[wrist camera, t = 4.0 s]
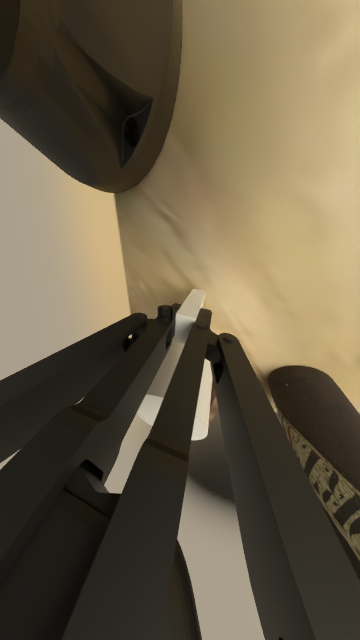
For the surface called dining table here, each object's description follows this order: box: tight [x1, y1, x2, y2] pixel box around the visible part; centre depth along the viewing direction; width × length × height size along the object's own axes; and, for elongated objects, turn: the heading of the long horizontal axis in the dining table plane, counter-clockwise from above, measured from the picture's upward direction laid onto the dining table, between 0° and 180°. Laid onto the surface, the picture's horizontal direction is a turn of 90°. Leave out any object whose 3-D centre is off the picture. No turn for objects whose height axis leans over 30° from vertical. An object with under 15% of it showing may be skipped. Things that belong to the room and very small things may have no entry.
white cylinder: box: [137, 337, 213, 440], centre depth 18 cm, size 8×8×12 cm
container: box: [268, 366, 360, 581], centre depth 12 cm, size 9×9×20 cm
